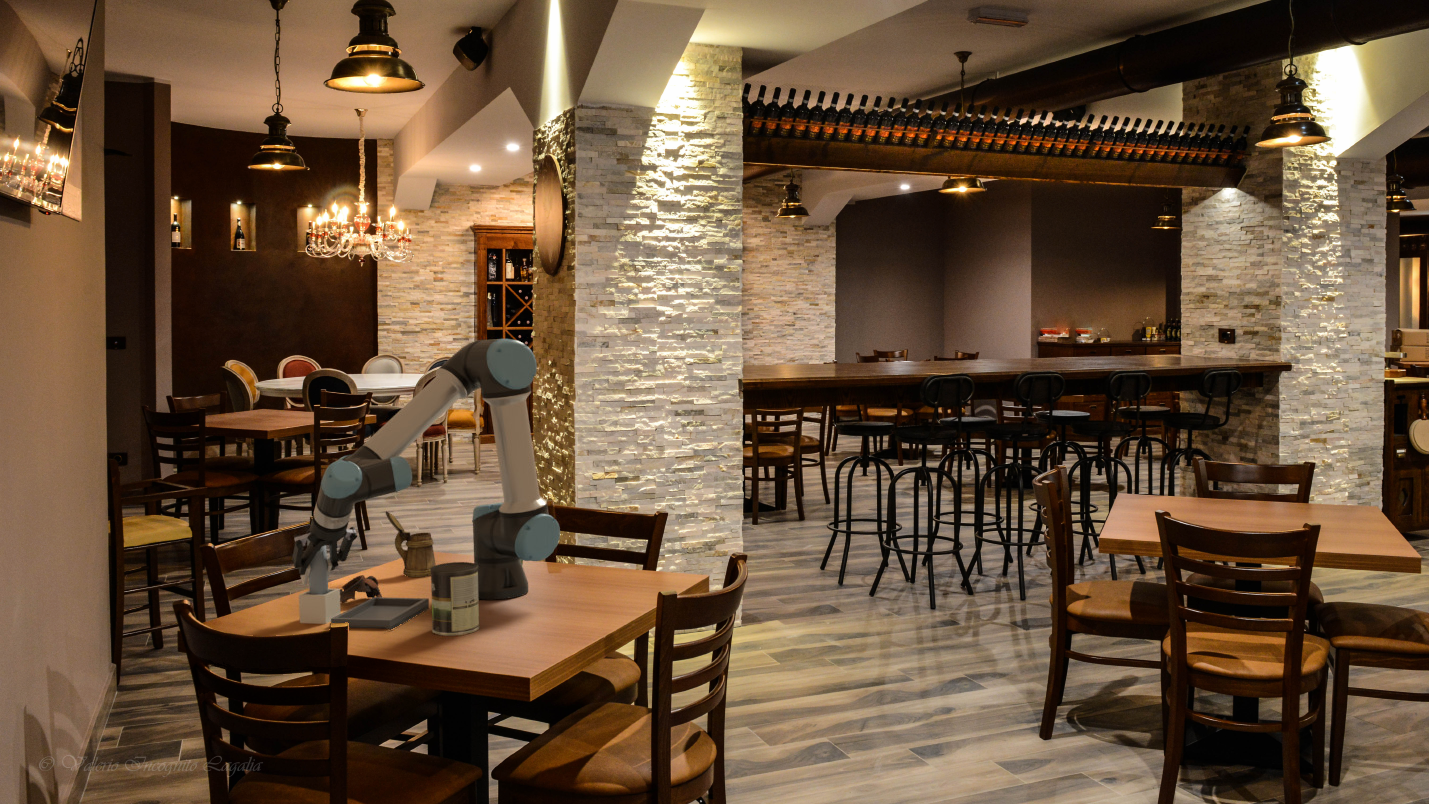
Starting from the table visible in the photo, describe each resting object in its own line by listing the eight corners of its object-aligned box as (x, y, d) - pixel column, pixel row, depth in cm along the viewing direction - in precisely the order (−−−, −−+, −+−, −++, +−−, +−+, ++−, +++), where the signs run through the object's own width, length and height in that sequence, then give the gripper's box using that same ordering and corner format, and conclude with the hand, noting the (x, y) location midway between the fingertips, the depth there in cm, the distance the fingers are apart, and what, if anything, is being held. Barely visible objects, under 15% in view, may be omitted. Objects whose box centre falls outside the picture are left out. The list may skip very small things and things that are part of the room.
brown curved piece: (379, 611, 246) (359, 584, 244) (347, 627, 248) (327, 600, 246) (395, 587, 258) (377, 561, 256) (364, 603, 259) (346, 577, 257)
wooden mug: (389, 572, 288) (387, 508, 287) (439, 570, 290) (437, 506, 289) (384, 579, 279) (382, 513, 278) (436, 576, 281) (434, 511, 280)
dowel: (332, 610, 236) (329, 533, 235) (323, 615, 232) (319, 536, 231) (316, 610, 237) (313, 533, 236) (307, 614, 233) (303, 536, 232)
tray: (429, 608, 246) (428, 598, 246) (390, 631, 226) (390, 620, 226) (374, 607, 248) (373, 597, 248) (331, 629, 228) (330, 618, 228)
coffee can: (427, 636, 221) (425, 572, 221) (437, 624, 232) (435, 562, 231) (476, 635, 222) (474, 570, 221) (483, 622, 232) (481, 561, 232)
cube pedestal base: (340, 618, 238) (339, 588, 237) (326, 626, 231) (325, 595, 231) (315, 618, 239) (314, 588, 238) (299, 625, 232) (298, 594, 232)
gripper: (294, 535, 216) (278, 598, 230) (375, 525, 226) (355, 586, 240) (286, 507, 220) (271, 571, 234) (366, 499, 230) (347, 560, 244)
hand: (313, 578), depth 237 cm, fingers closed on dowel, 4 cm apart
